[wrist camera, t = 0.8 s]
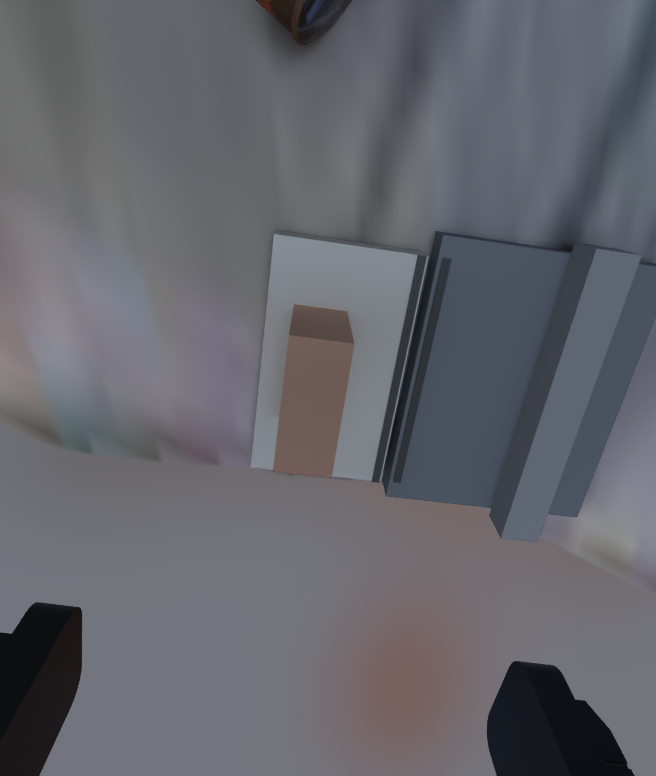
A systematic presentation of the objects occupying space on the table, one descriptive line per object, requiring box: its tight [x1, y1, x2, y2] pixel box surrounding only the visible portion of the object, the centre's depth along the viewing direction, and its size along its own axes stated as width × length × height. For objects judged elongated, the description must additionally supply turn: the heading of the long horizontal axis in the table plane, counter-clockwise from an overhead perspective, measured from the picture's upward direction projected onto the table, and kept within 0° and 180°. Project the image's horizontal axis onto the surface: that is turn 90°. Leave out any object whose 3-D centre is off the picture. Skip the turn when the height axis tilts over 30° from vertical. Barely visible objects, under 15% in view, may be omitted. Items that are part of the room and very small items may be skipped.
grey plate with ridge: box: [383, 231, 656, 542], centre depth 26 cm, size 11×15×4 cm
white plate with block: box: [251, 231, 429, 483], centre depth 24 cm, size 7×12×6 cm, turn 172°
